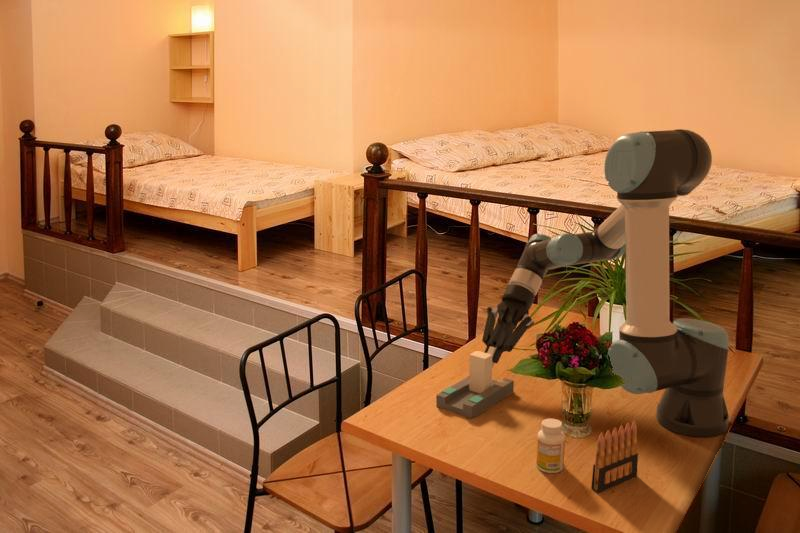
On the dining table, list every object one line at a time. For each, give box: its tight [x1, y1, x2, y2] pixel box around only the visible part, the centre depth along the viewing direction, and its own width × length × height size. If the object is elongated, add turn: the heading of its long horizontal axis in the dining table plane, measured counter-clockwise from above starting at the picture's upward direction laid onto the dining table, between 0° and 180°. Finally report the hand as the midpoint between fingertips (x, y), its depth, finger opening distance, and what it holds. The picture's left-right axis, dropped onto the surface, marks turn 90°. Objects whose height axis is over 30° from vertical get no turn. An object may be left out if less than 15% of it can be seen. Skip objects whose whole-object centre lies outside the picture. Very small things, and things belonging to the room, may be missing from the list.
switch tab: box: [468, 350, 493, 393], centre depth 184 cm, size 3×4×9 cm
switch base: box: [435, 375, 515, 419], centre depth 184 cm, size 18×10×3 cm, turn 140°
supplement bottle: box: [536, 418, 566, 474], centre depth 153 cm, size 5×5×10 cm
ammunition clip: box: [590, 420, 639, 494], centre depth 147 cm, size 11×2×12 cm, turn 122°
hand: (484, 372), depth 187 cm, fingers closed
